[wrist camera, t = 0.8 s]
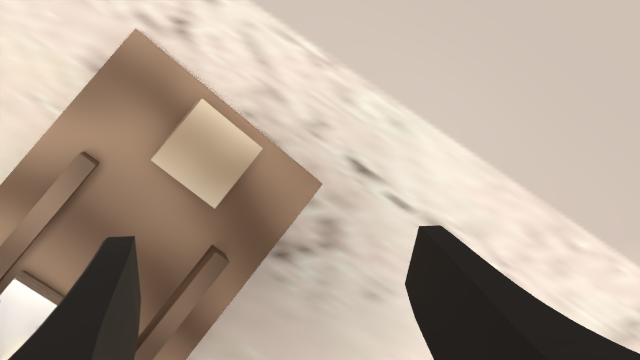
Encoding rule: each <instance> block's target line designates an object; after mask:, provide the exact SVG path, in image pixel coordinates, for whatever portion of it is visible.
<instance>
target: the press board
mask: <svg viewBox="0 0 640 360" xmlns="http://www.w3.org/2000/svg"><path fill="white" fill-rule="evenodd" d="M200 99H203V100H205V101H206V102H207V103H208V104H209V105H211V106H212V107H213V108H214V109H216V110H217V111H218V112H219V113H220V114H222V115H223V116H224V117H225V118H227V119H228V120H229V121H230V122H231V123H233V124H234V125H235V126H236V127H237V128H239V129H240V130H241V131H242V132H244V133H245V134H246V135H247V136H248V137H250V138H251V139H252V140H253V141H254V142H256V143H257V144H258V145H259V146H261V147H262V148H263V149H262V150H261V152H260V153H259V154H258V155H257V157H256V158H255V159H254V160H253V162H252V163H251V164H250V165H249V167H248V168H247V169H246V170H245V172H244V173H243V174H242V175H241V177H240V178H239V179H238V180H237V182H236V183H235V184H234V185H233V187H232V188H231V189H230V190H229V192H228V193H227V194H226V195H225V197H224V198H223V199H222V200H221V202H220V203H219V204H218V205H217V206H216V208H215V209H214V208H213V207H212V206H210V205H209V204H208V203H207V202H205V201H204V200H203V199H201V198H200V197H199V196H197V195H196V194H195V193H193V192H192V191H191V190H189V189H188V188H187V187H185V186H184V185H183V184H181V183H180V182H179V181H177V180H176V179H175V178H173V177H172V176H171V175H170V174H168V173H167V172H166V171H164V170H163V169H162V168H160V167H159V166H158V165H156V164H155V163H154V162H152V161H151V158H152V155H153V154H154V153H155V152H156V150H157V149H158V148H159V147H160V146H161V144H162V143H163V142H164V141H165V140H166V138H167V137H168V136H169V135H170V134H171V132H172V131H173V130H174V129H175V128H176V126H177V125H178V124H179V123H180V122H181V120H182V119H183V118H184V117H185V116H186V114H187V113H188V112H189V111H190V110H191V108H192V107H193V106H194V105H195V103H196V102H197V101H199V100H200ZM321 186H322V183H321V182H319V181H318V180H317V179H316V178H315V177H313V176H312V175H311V174H310V173H309V172H307V171H306V170H305V169H304V168H303V167H301V166H300V165H299V164H298V163H297V162H295V161H294V160H293V159H292V158H291V157H289V156H288V155H287V154H286V153H285V152H283V151H282V150H281V149H280V148H279V147H277V146H276V145H275V144H274V143H273V142H271V141H270V140H269V139H268V138H267V137H265V136H264V135H263V134H262V133H261V132H259V131H258V130H257V129H256V128H255V127H253V126H252V125H251V124H250V123H249V122H247V121H246V120H245V119H244V118H243V117H241V116H240V115H239V114H238V113H237V112H235V111H234V110H233V109H232V108H231V107H229V106H228V105H227V104H226V103H225V102H223V101H222V100H221V99H220V98H219V97H217V96H216V95H215V94H214V93H213V92H211V91H210V90H209V89H208V88H207V87H205V86H204V85H203V84H202V83H201V82H199V81H198V80H197V79H196V78H195V77H193V76H192V75H191V74H190V73H189V72H187V71H186V70H185V69H184V68H183V67H181V66H180V65H179V64H178V63H177V62H175V61H174V60H173V59H172V58H171V57H169V56H168V55H167V54H166V53H165V52H163V51H162V50H161V49H160V48H159V47H157V46H156V45H155V44H154V43H153V42H151V41H150V40H149V39H148V38H147V37H145V36H144V35H143V34H142V33H141V32H139V31H138V30H137V29H136V28H135V30H134V31H133V32H132V33H131V34H130V35H129V37H128V38H127V39H126V40H125V41H124V42H123V44H122V45H121V46H120V47H119V48H118V49H117V50H116V52H115V53H114V54H113V55H112V56H111V57H110V59H109V60H108V61H107V62H106V63H105V64H104V66H103V67H102V68H101V69H100V70H99V71H98V73H97V74H96V75H95V76H94V77H93V78H92V79H91V81H90V82H89V83H88V84H87V85H86V86H85V88H84V89H83V90H82V91H81V92H80V93H79V95H78V96H77V97H76V98H75V99H74V100H73V102H72V103H71V104H70V105H69V106H68V107H67V109H66V110H65V111H64V112H63V113H62V114H61V115H60V117H59V118H58V119H57V120H56V121H55V122H54V124H53V125H52V126H51V127H50V128H49V129H48V131H47V132H46V133H45V134H44V135H43V136H42V138H41V139H40V140H39V141H38V142H37V143H36V144H35V146H34V147H33V148H32V149H31V150H30V151H29V153H28V154H27V155H26V156H25V157H24V158H23V160H22V161H21V162H20V163H19V164H18V165H17V167H16V168H15V169H14V170H13V171H12V172H11V174H10V175H9V176H8V177H7V178H6V179H5V180H4V182H3V183H2V184H1V185H0V295H1V294H2V293H3V291H4V290H5V289H6V288H7V287H8V285H9V284H10V283H11V282H12V281H13V279H14V278H15V277H16V276H17V275H18V274H19V273H20V272H21V271H23V272H25V273H27V274H28V275H30V276H31V277H33V278H35V279H36V280H38V281H39V282H41V283H42V284H44V285H46V286H47V287H49V288H50V289H52V290H53V291H55V292H57V293H58V294H60V295H61V296H63V297H65V295H66V294H67V293H68V292H69V290H70V289H71V288H72V286H73V285H74V284H75V282H76V281H77V280H78V278H79V277H80V276H81V274H82V273H83V271H84V270H85V268H86V267H87V266H88V264H89V263H90V261H91V260H92V258H93V257H94V255H95V254H96V252H97V250H98V249H99V247H100V246H101V244H102V242H103V241H104V240H105V239H106V238H107V237H122V236H135V243H136V252H137V262H138V272H139V282H140V292H141V310H140V323H139V335H138V342H137V347H136V352H135V358H134V360H186V358H187V357H188V356H189V354H190V353H191V352H192V351H193V349H194V348H195V347H196V345H197V344H198V343H199V342H200V340H201V339H202V338H203V337H204V335H205V334H206V333H207V331H208V330H209V329H210V328H211V326H212V325H213V324H214V322H215V321H216V320H217V319H218V317H219V316H220V315H221V313H222V312H223V311H224V310H225V308H226V307H227V306H228V305H229V303H230V302H231V301H232V299H233V298H234V297H235V296H236V294H237V293H238V292H239V290H240V289H241V288H242V287H243V285H244V284H245V283H246V281H247V280H248V279H249V278H250V276H251V275H252V274H253V273H254V271H255V270H256V269H257V267H258V266H259V265H260V264H261V262H262V261H263V260H264V258H265V257H266V256H267V255H268V253H269V252H270V251H271V249H272V248H273V247H274V246H275V244H276V243H277V242H278V241H279V239H280V238H281V237H282V235H283V234H284V233H285V232H286V230H287V229H288V228H289V226H290V225H291V224H292V223H293V221H294V220H295V219H296V218H297V216H298V215H299V214H300V212H301V211H302V210H303V209H304V207H305V206H306V205H307V203H308V202H309V201H310V200H311V198H312V197H313V196H314V194H315V193H316V192H317V191H318V189H319V188H320V187H321Z"/></svg>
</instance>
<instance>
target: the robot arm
mask: <svg viewBox="0 0 640 360" xmlns="http://www.w3.org/2000/svg"><path fill="white" fill-rule="evenodd" d="M405 286H406V289H407V293H408V296H409V300H410V303H411V307H412V310H413V313H414V316H415V319H416V321H417V323H418V326H419V328H420V330H421V332H422V334H423V337H424V339H425V341H426V343H427V346H428V348H429V350H430V352H431V354H432V356H433V358H434V360H640V354H639V353H637V352H634V351H632V350H630V349H628V348H626V347H623V346H621V345H619V344H617V343H615V342H613V341H611V340H609V339H607V338H605V337H603V336H601V335H599V334H597V333H595V332H593V331H591V330H589V329H587V328H585V327H584V326H582V325H580V324H578V323H576V322H574V321H573V320H571V319H569V318H568V317H566V316H564V315H563V314H561V313H559V312H558V311H556V310H554V309H553V308H551V307H549V306H548V305H546V304H545V303H543V302H541V301H540V300H538V299H537V298H535V297H534V296H532V295H531V294H530V293H528V292H527V291H525V290H524V289H522V288H521V287H520V286H518V285H517V284H515V283H514V282H513V281H511V280H510V279H509V278H507V277H506V276H504V275H503V274H502V273H501V272H499V271H498V270H497V269H495V268H494V267H493V266H491V265H490V264H489V263H488V262H486V261H485V260H484V259H483V258H481V257H480V256H479V255H478V254H476V253H475V252H474V251H473V250H471V249H470V248H469V247H468V246H466V245H465V244H464V243H463V242H461V241H460V240H459V239H458V238H456V237H455V236H454V235H453V234H451V233H450V232H449V231H447V230H446V229H445V228H443V227H442V226H419V229H418V233H417V237H416V241H415V245H414V249H413V253H412V257H411V261H410V265H409V269H408V273H407V277H406V282H405ZM140 310H141V292H140V282H139V272H138V262H137V252H136V243H135V236H122V237H107V238H106V239H105V240H104V241H103V242H102V244H101V246H100V247H99V249H98V250H97V252H96V254H95V255H94V257H93V258H92V260H91V261H90V263H89V264H88V266H87V267H86V268H85V270H84V271H83V273H82V274H81V276H80V277H79V278H78V280H77V281H76V282H75V284H74V285H73V286H72V288H71V289H70V290H69V292H68V293H67V294H66V295H65V297H64V298H63V299H62V301H61V302H60V303H59V304H58V306H57V307H56V308H55V309H54V310H53V311H52V313H51V314H50V315H49V316H48V317H47V318H46V320H45V321H44V322H43V323H42V324H41V325H40V327H39V328H38V329H37V330H36V331H35V332H34V333H33V334H32V335H31V336H30V337H29V339H28V340H27V341H26V342H25V343H24V344H23V345H22V346H21V347H20V348H19V349H18V350H17V351H16V352H15V353H14V354H13V355H12V356H11V357H10V358H9V359H8V360H134V358H135V352H136V347H137V342H138V335H139V323H140Z"/></svg>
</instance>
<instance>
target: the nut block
mask: <svg viewBox="0 0 640 360" xmlns="http://www.w3.org/2000/svg"><path fill="white" fill-rule="evenodd" d="M262 149H263V148H262V147H261V146H259V145H258V144H257V143H256V142H254V141H253V140H252V139H251V138H250V137H248V136H247V135H246V134H245V133H244V132H242V131H241V130H240V129H239V128H237V127H236V126H235V125H234V124H233V123H231V122H230V121H229V120H228V119H227V118H225V117H224V116H223V115H222V114H220V113H219V112H218V111H217V110H216V109H214V108H213V107H212V106H211V105H209V104H208V103H207V102H206V101H205V100H203V99H200V100H199V101H197V102H196V103H195V105H194V106H193V107H192V108H191V110H190V111H189V112H188V113H187V114H186V116H185V117H184V118H183V119H182V120H181V122H180V123H179V124H178V125H177V126H176V128H175V129H174V130H173V131H172V132H171V134H170V135H169V136H168V137H167V138H166V140H165V141H164V142H163V143H162V144H161V146H160V147H159V148H158V149H157V150H156V152H155V153H154V154H153V155H152V158H151V161H152V162H154V163H155V164H156V165H158V166H159V167H160V168H162V169H163V170H164V171H166V172H167V173H168V174H170V175H171V176H172V177H173V178H175V179H176V180H177V181H179V182H180V183H181V184H183V185H184V186H185V187H187V188H188V189H189V190H191V191H192V192H193V193H195V194H196V195H197V196H199V197H200V198H201V199H203V200H204V201H205V202H207V203H208V204H209V205H210V206H212V207H213V208H214V209H215V208H216V206H217V205H218V204H219V203H220V202H221V200H222V199H223V198H224V197H225V195H226V194H227V193H228V192H229V190H230V189H231V188H232V187H233V185H234V184H235V183H236V182H237V180H238V179H239V178H240V177H241V175H242V174H243V173H244V172H245V170H246V169H247V168H248V167H249V165H250V164H251V163H252V162H253V160H254V159H255V158H256V157H257V155H258V154H259V153H260V152H261V150H262Z"/></svg>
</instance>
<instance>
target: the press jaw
mask: <svg viewBox="0 0 640 360" xmlns="http://www.w3.org/2000/svg"><path fill="white" fill-rule="evenodd" d="M63 298H64V297H63V296H61V295H60V294H58V293H57V292H55V291H53V290H52V289H50V288H49V287H47V286H46V285H44V284H42V283H41V282H39V281H38V280H36V279H35V278H33V277H31V276H30V275H28V274H27V273H25V272H23V271H21V272H20V273H19V274H18V275H17V276H16V277H15V278H14V279H13V281H12V282H11V283H10V284H9V285H8V287H7V288H6V289H5V290H4V291H3V293H2V294H1V295H0V360H8V359H9V358H10V357H11V356H12V355H13V354H14V353H15V352H16V351H17V350H18V349H19V348H20V347H21V346H22V345H23V344H24V343H25V342H26V341H27V340H28V339H29V337H30V336H31V335H32V334H33V333H34V332H35V331H36V330H37V329H38V328H39V327H40V325H41V324H42V323H43V322H44V321H45V320H46V318H47V317H48V316H49V315H50V314H51V313H52V311H53V310H54V309H55V308H56V307H57V306H58V304H59V303H60V302H61V301H62V299H63Z"/></svg>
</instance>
